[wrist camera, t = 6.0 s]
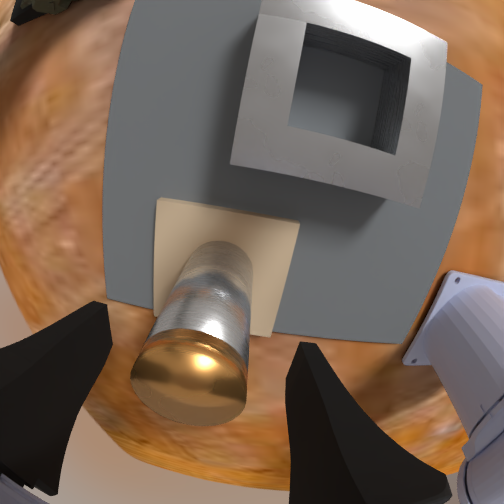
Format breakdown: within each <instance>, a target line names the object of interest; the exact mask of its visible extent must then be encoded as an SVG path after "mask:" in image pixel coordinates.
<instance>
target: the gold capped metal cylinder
mask: <svg viewBox="0 0 504 504" xmlns="http://www.w3.org/2000/svg"><path fill="white" fill-rule="evenodd" d="M252 286H253V266H252V263H251V260H250V259H249V257H248V255H247V254H246V253H245V252H244V251H243V250H242V249H241V248H240V247H238V246H236V245H235V244H232V243H230V242H226V241H210V242H207V243H204V244H202V245H201V246H199V247H198V248H197V249H196V250H195V251H194V252H193V253H192V255H191V256H190V258H189V260H188V262H187V263H186V265H185V267H184V269H183V271H182V273H181V274H180V276H179V278H178V280H177V282H176V284H175V285H174V287H173V289H172V291H171V293H170V295H169V297H168V299H167V300H166V302H165V304H164V306H163V308H162V310H161V312H160V314H159V316H158V318H157V320H156V322H155V324H154V326H153V327H152V329H151V331H150V333H149V335H148V337H147V339H146V341H145V343H144V345H143V347H142V349H141V351H140V353H139V356H138V358H137V360H136V362H135V364H134V366H133V368H132V371H131V376H130V379H131V384H132V387H133V389H134V391H135V393H136V394H137V396H138V397H139V398H140V400H141V401H142V402H143V403H144V404H145V405H146V406H148V407H149V408H150V409H152V410H153V411H155V412H156V413H158V414H160V415H161V416H163V417H165V418H168V419H170V420H173V421H176V422H179V423H183V424H187V425H194V426H213V425H219V424H223V423H226V422H229V421H231V420H233V419H234V418H236V417H237V416H238V415H240V413H241V412H242V411H243V409H244V408H245V405H246V396H247V378H248V360H249V342H250V323H251V305H252Z"/></svg>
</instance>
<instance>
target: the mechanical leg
mask: <svg viewBox="0 0 504 504" xmlns="http://www.w3.org/2000/svg"><path fill="white" fill-rule="evenodd" d="M71 1H76V0H16V2H15V5H14V9H13V12H12V16H11V20H10V21H11V22H13V23H15V24H16V25H18V26H19V25H21V24H24V23H26V22H28V21H30V20H33V19H35V18H38V17H40V16H43V15H45V14H48V13H49V14H54V15H56V14H58V13H60V12H62V11H64V10H66V9H67V8H68V6H69V4H70V2H71Z"/></svg>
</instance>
